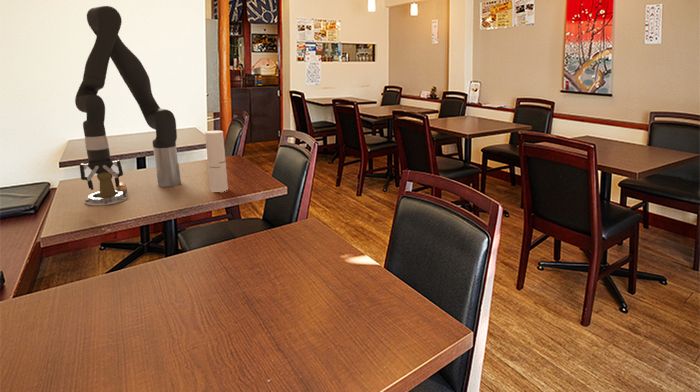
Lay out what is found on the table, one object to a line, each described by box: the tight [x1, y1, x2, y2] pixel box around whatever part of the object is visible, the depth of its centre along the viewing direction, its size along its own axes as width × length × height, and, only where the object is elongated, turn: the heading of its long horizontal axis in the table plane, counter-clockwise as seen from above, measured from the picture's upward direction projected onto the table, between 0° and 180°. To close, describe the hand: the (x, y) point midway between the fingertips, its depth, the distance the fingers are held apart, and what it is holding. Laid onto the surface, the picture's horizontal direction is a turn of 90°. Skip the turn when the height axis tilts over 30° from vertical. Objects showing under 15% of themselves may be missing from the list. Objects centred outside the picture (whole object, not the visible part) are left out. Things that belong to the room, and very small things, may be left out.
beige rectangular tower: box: [204, 130, 229, 193], centre depth 182 cm, size 7×7×25 cm
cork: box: [96, 172, 116, 198], centre depth 170 cm, size 6×6×11 cm
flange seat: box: [84, 189, 129, 207], centre depth 172 cm, size 15×15×2 cm
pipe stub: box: [115, 181, 128, 195], centre depth 181 cm, size 8×4×4 cm, turn 28°
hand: (104, 188), depth 171 cm, fingers open, 8 cm apart
